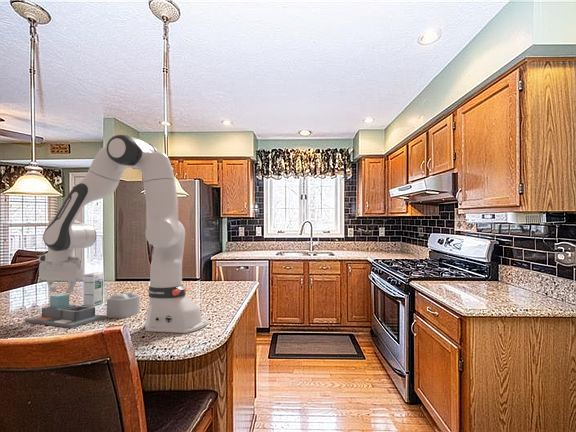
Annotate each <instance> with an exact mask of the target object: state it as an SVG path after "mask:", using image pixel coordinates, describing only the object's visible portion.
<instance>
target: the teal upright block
mask: <svg viewBox="0 0 576 432" xmlns="http://www.w3.org/2000/svg"><path fill="white" fill-rule="evenodd" d="M69 305H70V293H58V294H53V295H50V296H49V306H50V308H54V309H59V308H64V307H68V306H69Z"/></svg>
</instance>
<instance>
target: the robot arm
mask: <svg viewBox="0 0 576 432" xmlns="http://www.w3.org/2000/svg"><path fill="white" fill-rule="evenodd" d="M128 168H130V169H132V170H133V169H134V170H140V172H141V174H142V175H141V176H142V181H143V182H142V183H143V188H144V196H145V204H146V211H145V212H146V215H145V216H146V217H145V218H146V219H145V222H146V223H145V225H146V227H145V233H144V234H145V235H144V236H145V239H146V240H147V242H148V243H149V244H150V245H151V246H152V247H154V248H153V253H152V258H151V263H150V269H149V270H150V271H149V272H150V273H149V276H150V277H149V279H150V280H149V281H150V282H149V286H148V292H147V293H148V297H149V298H148V299H149V302H148V309H147V315H146V319H145V322H144V328H145V332H156V333H157V332H158V333H173V334H175V333H177V334H178V333H179V334H180V333H181V334H186V333H192V332H195V331H199V330H200V329H202V328H205V327H206V326H207V325H208V320H207V319H202V312H201V308H200V307H199V305H197V304H196V303H195V302H194V301H193V300H192V299H191V298H189V297H188V296H187V294H186V292H188V291H189V287H184V285H183V259H184V250H185V243H186V229H185V226H184V225H183V223H182V222H181V221H180V220H179V217H178V215H179V214H178V212H179V211H178V203H179V202H178V201H179V200H178V193H177V187H176V180H175V174H174V170H173V166H172V163H171V160H170V158H169V156H168V155H167V154H166V153H164V152H161V151H158V149H157V148H156V147H155V146H154V145H152V144H151V143H148V142H146V141H144V140H142V139H140V138H137V137H133V136H129V135H127V134H116V135H114V136H112V137H111V138H110V139H108V141H107V143H106V146H104V147H101V148H100V149H99V150H98V152H97V153H96V155H95V156H94V158H93V160H92V162H91V164H90V166H89V168H88V171H87V173H86V174H85V176H84V177H83V179H82V180H81V181H80V182H79V183H78V184H76V185H74V187H72V189H71V190H70V192H69V193H68V195H67V197H66V198H65V200H64V201H63V203H62V205H61V207H60V208H59V210H58V212H57V214H56V215H55V216H53V217H51V219H50V221H49V225H47V227H46V228H45V230H44V232H43V234H42V235H43V236H42V240H43V242H44V245H46V247H47V248H48V249H47V252H46V253H44V254H42V255H40V256H39V257H38V262H40V263H39V264H38V265H39V266H38V275H39V276H38V277H39V278H40V280H41V281H46V284H47V286H48V287H49V288H48V290H49V292H51V293H52V292H53V293H54V292H56V291H57V286H55V282H56V281H57V282H58V281H59V282H60V281H61V282H67V284H68V287H67V288H66V289H65V290H66V294H71V293H74V288H75V286H76V284H77V282H81V281H84V274H85V273H84V267H83V266H84V265H83V263H82V260H81V258H79V257H78V256H76V250H78V249H87V248H90V247H92V246H93V245H94V244H95V242H96V239H97V232H96V229H95V227H94V226H92V225H91V224H87V223H84V222H81V221H79V220H77V218H78V216H79V214H80V212H81V211H82V209H83V208H84V207H85V206H86V205H88V204H90V203H91V202H95V201H97V200H101V199H105V198H108V197H110V196H111V195H113V193H115V191H116V189H117V187H118V186H119V184H120V183H119V182H120V181H121V178H122V175H123V174H124V172H125V170H126V169H128Z"/></svg>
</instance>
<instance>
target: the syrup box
mask: <svg viewBox="0 0 576 432" xmlns="http://www.w3.org/2000/svg"><path fill="white" fill-rule="evenodd" d="M101 304H104V273H103V272H99V271H98V272H90V273H84V278H83V306H88V307H96V306H98V305H101Z"/></svg>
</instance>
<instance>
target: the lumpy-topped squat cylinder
mask: <svg viewBox="0 0 576 432" xmlns="http://www.w3.org/2000/svg"><path fill="white" fill-rule="evenodd" d="M140 299H141V297H140V294H139V293H137V292H136V291H125V292H124V293H120V292H118V291H117V292H115V293H114V294H113V295H111V296H110V297H107V298H106V317H107V318H115V319H125V318H129V317H132V316H135V315H139V313H141V312H140V310H141V309H140V308H141V307H140V305H141V303H140V301H141V300H140Z"/></svg>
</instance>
